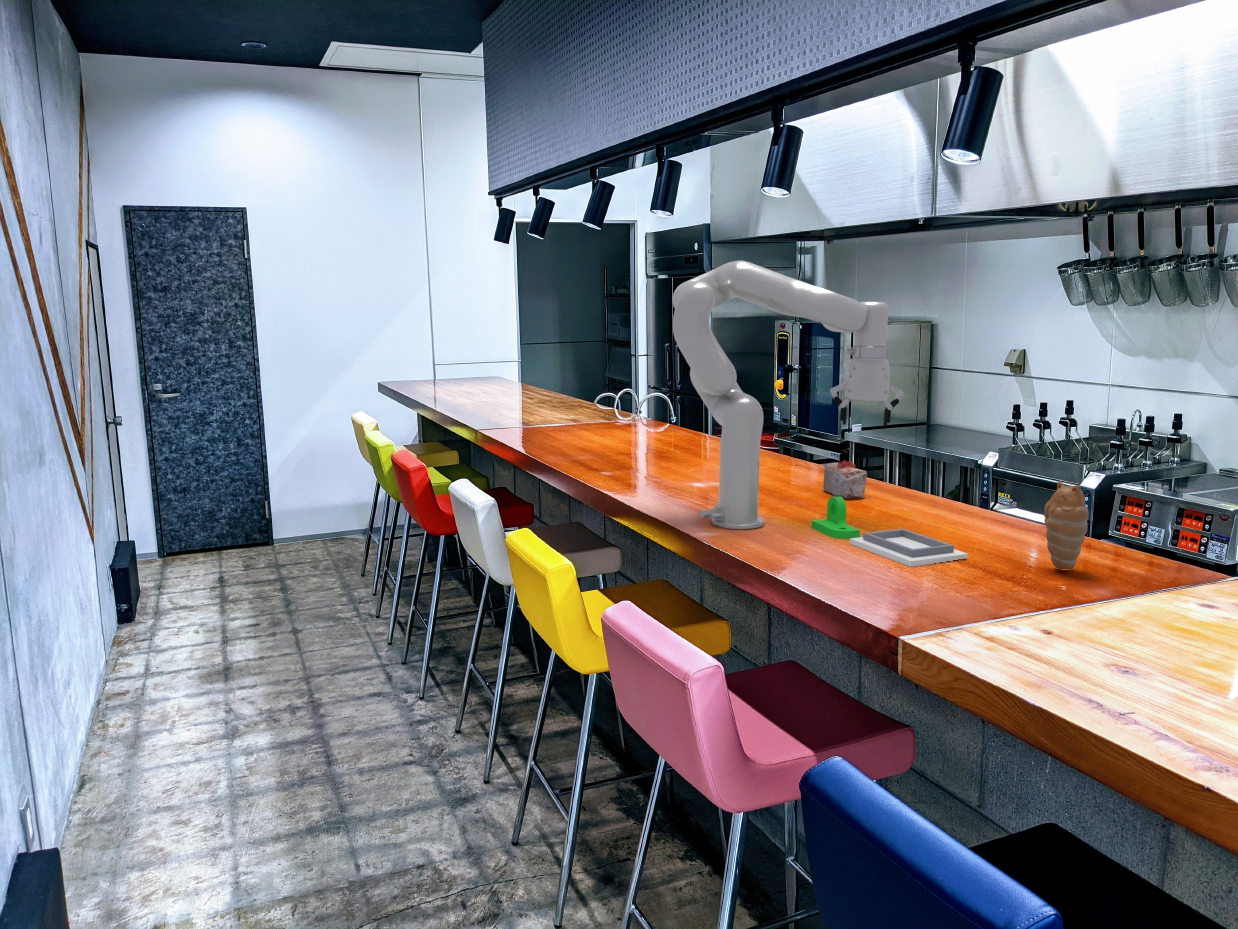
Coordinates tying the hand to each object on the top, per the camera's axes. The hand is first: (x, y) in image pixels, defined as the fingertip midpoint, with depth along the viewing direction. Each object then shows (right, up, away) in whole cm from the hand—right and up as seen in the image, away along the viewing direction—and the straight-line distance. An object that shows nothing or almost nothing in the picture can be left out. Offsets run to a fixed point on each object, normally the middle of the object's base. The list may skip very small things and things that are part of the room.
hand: (864, 424), depth 226 cm
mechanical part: (-9, -26, -8) cm, 29 cm away
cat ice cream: (+30, -31, -39) cm, 58 cm away
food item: (+3, -19, +35) cm, 40 cm away
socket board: (+3, -28, -24) cm, 38 cm away
